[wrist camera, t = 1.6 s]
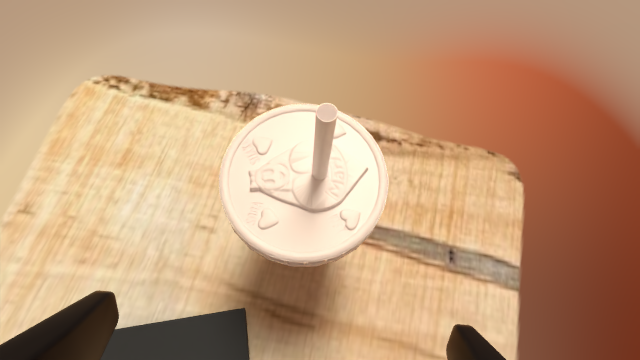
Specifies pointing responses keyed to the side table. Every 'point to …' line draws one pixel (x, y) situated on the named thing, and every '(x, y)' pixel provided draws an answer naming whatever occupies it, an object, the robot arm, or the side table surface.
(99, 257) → the side table surface
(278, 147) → the smoothie
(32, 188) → the side table surface
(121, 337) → the coaster
